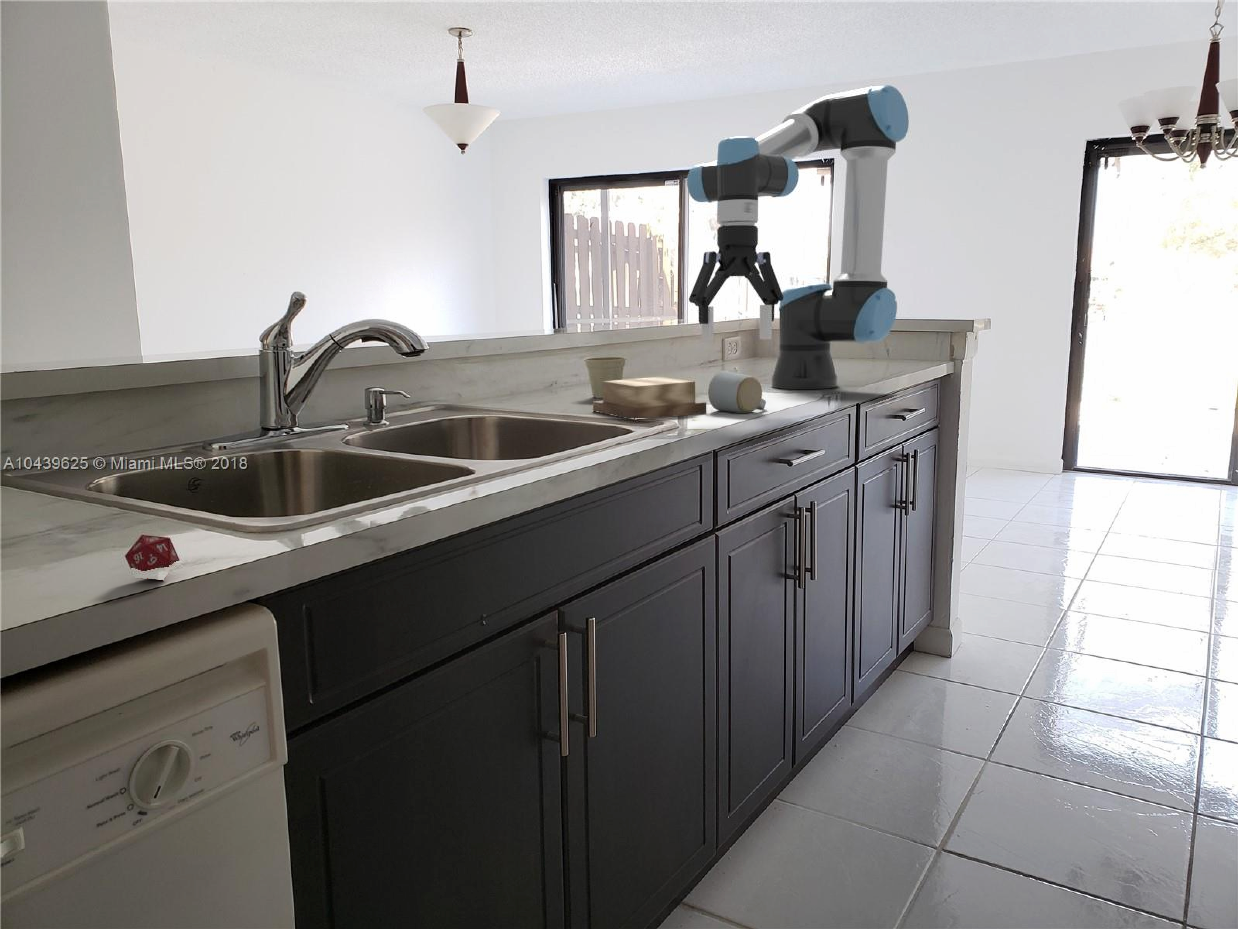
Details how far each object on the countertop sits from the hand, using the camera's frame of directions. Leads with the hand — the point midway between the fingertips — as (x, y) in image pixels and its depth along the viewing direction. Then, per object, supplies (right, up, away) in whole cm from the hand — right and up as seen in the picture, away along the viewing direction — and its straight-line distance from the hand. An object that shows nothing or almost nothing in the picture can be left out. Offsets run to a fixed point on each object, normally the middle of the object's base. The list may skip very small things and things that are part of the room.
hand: (737, 340), depth 178 cm
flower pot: (-25, -9, +31) cm, 41 cm away
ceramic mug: (+1, -13, +3) cm, 14 cm away
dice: (-63, -34, -96) cm, 120 cm away
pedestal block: (-17, -11, +4) cm, 21 cm away
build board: (-17, -13, +5) cm, 22 cm away
